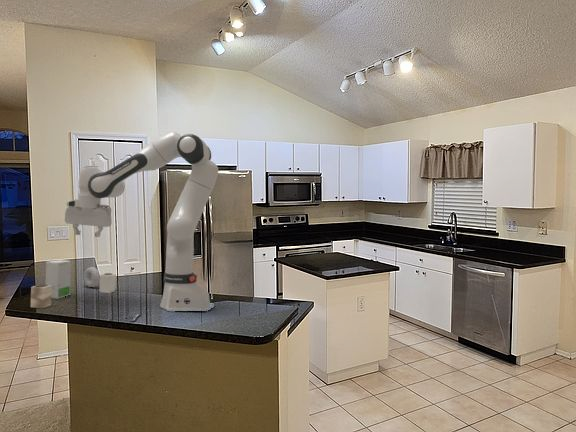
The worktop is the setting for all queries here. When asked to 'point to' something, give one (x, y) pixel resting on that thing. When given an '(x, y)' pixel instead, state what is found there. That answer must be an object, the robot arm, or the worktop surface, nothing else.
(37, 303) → the birch marked block
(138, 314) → the worktop surface
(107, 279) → the off-white marked block
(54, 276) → the skincare box
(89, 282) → the donut
